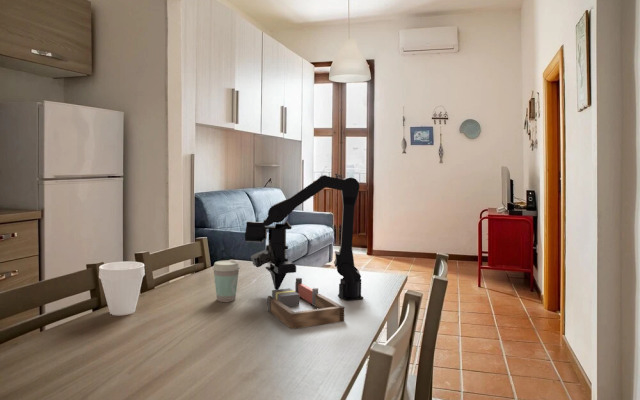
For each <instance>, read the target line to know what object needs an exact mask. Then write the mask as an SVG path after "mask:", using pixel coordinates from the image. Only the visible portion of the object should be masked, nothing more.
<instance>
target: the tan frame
mask: <svg viewBox="0 0 640 400" xmlns="http://www.w3.org/2000/svg"><path fill="white" fill-rule="evenodd" d="M314 307H315V308H314V309H307V310H300V311H299V310H298V311H294V310H293V309H291V308H290V307H289V306H288V307H287V306H285V305H284V304H282V303H281V302H279V301H278V300H277V299H273V297H272V295H267V311H268V312H269V313H270V314H271V315H272V316H274V317H275V318H277V319H278V320H279V321H280V322H282V323H283V324H284V325H286V326H287V327H289V329H291V330H293V329H301V328H308V327H315V326H321V325H322V326H323V325H327V324H328V325H329V324H334V323H336V324H337V323H343V322H345V306H342V305H341V304H339V303H337V302H335V301H334V300H332V299H330V298H328V297H326V296H325V295H323V294H321V293H318V294H315V305H314Z"/></svg>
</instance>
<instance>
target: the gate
mask: <svg viewBox="0 0 640 400" xmlns="http://www.w3.org/2000/svg"><path fill="white" fill-rule="evenodd" d="M294 284H295V287H294V288H295V290H294V291H295V292H296V293H298V294H299V298H302V299H303V300H305V301H306V302H308V303H309V304H312V306H315V294H319V288H318V287H313V288H311V287H310V286H307V285H305V284H303V278H302V277H296V278H295V283H294Z"/></svg>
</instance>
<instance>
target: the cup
mask: <svg viewBox="0 0 640 400" xmlns="http://www.w3.org/2000/svg"><path fill="white" fill-rule="evenodd" d="M98 271H99V272H98V278H99V279H100V282H101V285H102V290H103V292H104V296H105V299H106V304H107V308H108V311H109V314H110V315H111V314H112V315H111V316H127V315H132V314H134V313H135V312H136V309H137V308H136V307H137V304H138V300H139V296H140V293H141V287H142V282H143V278H144V277H145V275H146V273H145V272H146V271H145V263H144V262H139V261H128V260H127V261H116V262H115V261H114V262H113V261H112V262H108V263H104V264H101V265H99V267H98Z"/></svg>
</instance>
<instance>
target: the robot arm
mask: <svg viewBox="0 0 640 400" xmlns="http://www.w3.org/2000/svg"><path fill="white" fill-rule="evenodd" d="M325 188H327V189H328V188H329V189H333V190H337V191H340V193H341V201H342V213H341V214H342V218H341V231H340V232H341V234H340V235H341V236H340V246H339V250H338V251H337V250H335V251H334V256H335V257H334V258H335V259H334V262H333V264H334V267H336V271H337V273H338V274H339V276H341V277H342V278H340V279H339V280H340V283H339V284H338V294H337V296H338V297H339V298H341V299H343V300H345V301H354V300H356V301H357V300H361V299H362V300H363V299H364V296H362V279H361V277H362V275H361V273H360V271H359V270H358V268H357V267H356V266H355V260H354V252H353V238H354V217H355V206H356V202H357V200H358V195H359V191H360V183H359V181H358V180H357V179H356V178H354V177H350V176H349V177H348V176H347V177H345V178H340V177H339V178H338V177H333V176H328V175H327V174H322V175H320V176H319V177H318V178H317V179H315V180H314V181H313V182H311V183H310V184H308V185H307V186H306V187H305V186H304V188H302V189H301V190H299V191H298V192H296V193H294V195H292V196H291V197H289V198H286V199H284V200H282V201H279V202H277V203H275V204H273V205H272V206H271V207H269V209H268V211H267V217H266V218H264V219H263V221H252V220H248V221H246V225H245V226H246V227H245V231H244V240H245V242H246V243H264V241H265V240H267V238H268V244H266V245H265V248H264V249H263V250H262V251H259V252H256V253H255V254H252V255H251V256H250V259H251V261H252V264H253V266H254V267H256V268H260V267H262V266H263V265H266V264H267V266H265V269H266V270H267V272H269V274H270V275H271V280H272V284H273V287H274V290H279V289H281V288H280V287H281V285H282V284H283V281H284V280H285V278H286V275H287V274H292V273H297V265H296V264H295V263H294V262H291V261H289V259H288V258H287V256H286V255H287V250H288V249H289V246H288V245H287V230H292V229H293V227H292V225H290V223H289V221H288V220H287V221H285V223H281V222H282V221H284V220H285V219H286V218H287V217H288V216H290V214H291V213H292V212H293V211H294V210H295V209H296V208H297V207H299V206H300V205H302V204H303V203H305V202H306V201H307V200H309V199H310V198H312V197H313V196H315V195H316V194H318V193H319V192H321V191H322V190H324V189H325ZM274 223H275V225H273V226H271V225H272V224H274Z"/></svg>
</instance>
